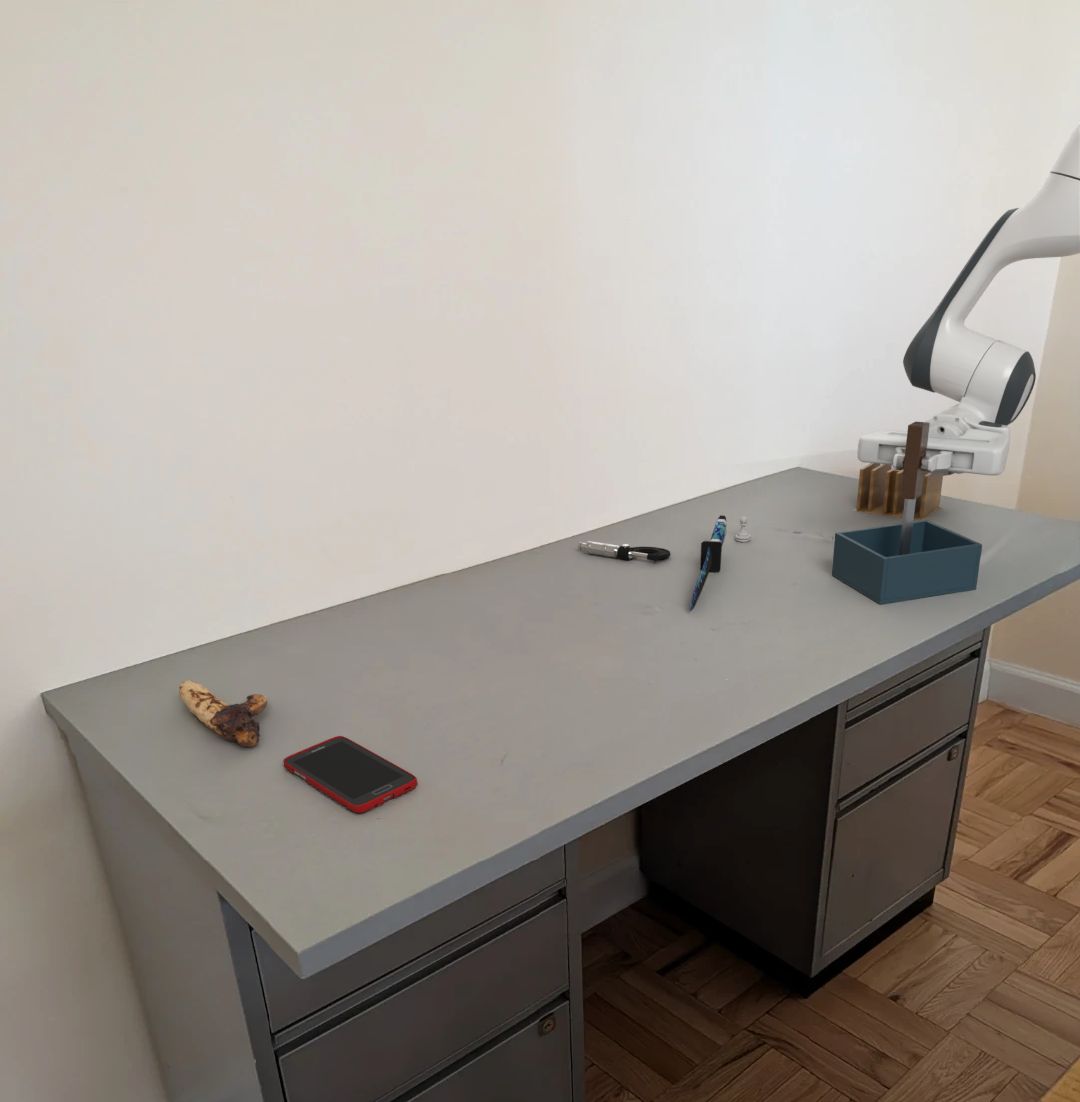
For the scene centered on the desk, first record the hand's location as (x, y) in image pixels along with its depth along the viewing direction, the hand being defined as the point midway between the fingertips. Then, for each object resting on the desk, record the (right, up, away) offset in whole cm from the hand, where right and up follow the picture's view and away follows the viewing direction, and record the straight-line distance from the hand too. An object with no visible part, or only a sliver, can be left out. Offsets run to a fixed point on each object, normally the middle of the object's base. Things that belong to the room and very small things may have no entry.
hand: (912, 463), depth 142 cm
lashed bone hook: (-87, -35, -20) cm, 96 cm away
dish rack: (+11, +1, +38) cm, 40 cm away
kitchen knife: (+1, -15, +8) cm, 17 cm away
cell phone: (-71, -41, -34) cm, 89 cm away
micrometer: (-37, -8, +27) cm, 46 cm away
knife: (-26, -14, +15) cm, 33 cm away
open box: (+2, -15, +9) cm, 17 cm away
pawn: (-17, -5, +30) cm, 35 cm away
